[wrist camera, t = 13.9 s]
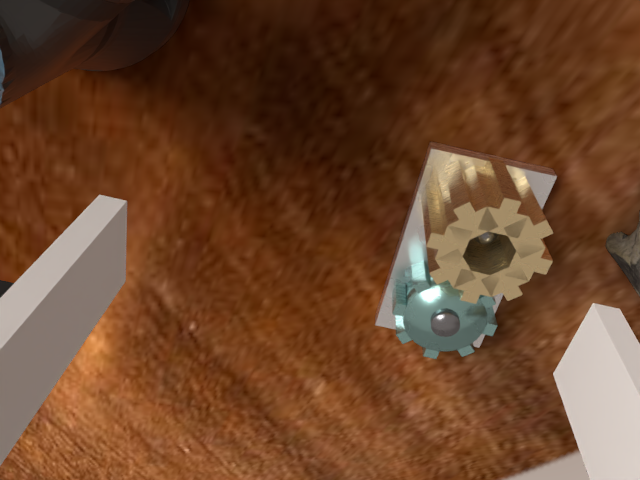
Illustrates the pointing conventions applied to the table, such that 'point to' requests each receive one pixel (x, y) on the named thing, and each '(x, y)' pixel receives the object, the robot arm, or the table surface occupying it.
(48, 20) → the robot arm
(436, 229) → the gear
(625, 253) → the grey rock
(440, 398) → the table surface
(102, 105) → the table surface
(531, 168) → the carrier
